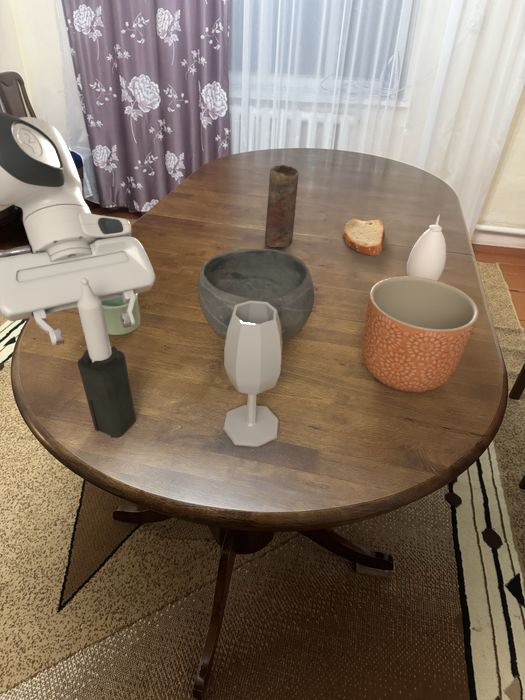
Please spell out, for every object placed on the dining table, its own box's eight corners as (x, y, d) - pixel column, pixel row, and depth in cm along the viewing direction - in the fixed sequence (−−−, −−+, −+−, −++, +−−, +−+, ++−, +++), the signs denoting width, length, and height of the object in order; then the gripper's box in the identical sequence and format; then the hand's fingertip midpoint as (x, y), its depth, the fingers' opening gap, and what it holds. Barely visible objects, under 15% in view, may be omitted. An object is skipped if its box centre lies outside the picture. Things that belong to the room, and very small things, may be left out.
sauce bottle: (443, 292, 108) (466, 217, 98) (419, 300, 105) (440, 223, 94) (418, 278, 114) (437, 205, 103) (395, 285, 110) (412, 211, 100)
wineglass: (218, 411, 74) (215, 298, 62) (271, 404, 76) (278, 292, 64) (228, 453, 68) (227, 335, 55) (286, 443, 70) (297, 327, 57)
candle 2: (291, 240, 129) (297, 165, 117) (293, 251, 123) (300, 174, 111) (264, 239, 129) (267, 164, 117) (265, 250, 123) (268, 172, 111)
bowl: (180, 329, 92) (174, 260, 83) (264, 299, 103) (267, 235, 94) (241, 387, 79) (242, 312, 70) (330, 345, 90) (341, 276, 81)
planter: (373, 335, 93) (388, 267, 84) (460, 364, 87) (487, 293, 78) (340, 382, 81) (354, 308, 72) (438, 420, 75) (467, 344, 66)
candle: (139, 418, 73) (114, 274, 58) (118, 440, 69) (86, 292, 54) (113, 407, 74) (82, 265, 59) (90, 428, 70) (52, 282, 55)
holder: (98, 337, 89) (93, 310, 86) (98, 314, 95) (92, 289, 92) (142, 331, 91) (138, 305, 88) (139, 310, 97) (135, 284, 94)
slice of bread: (370, 258, 122) (373, 245, 119) (321, 235, 133) (323, 222, 130) (412, 242, 131) (415, 229, 129) (363, 222, 142) (366, 210, 140)
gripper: (-25, 244, 57) (8, 351, 56) (139, 218, 65) (170, 311, 64) (-16, 262, 62) (14, 360, 61) (134, 236, 71) (162, 322, 70)
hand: (95, 334), depth 63 cm, fingers open, 8 cm apart
